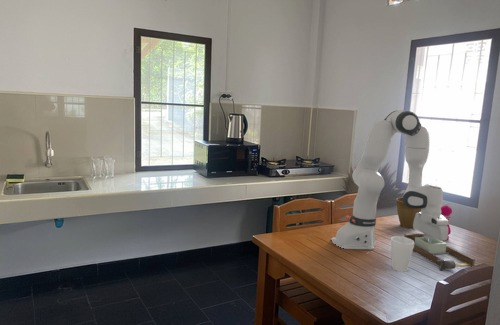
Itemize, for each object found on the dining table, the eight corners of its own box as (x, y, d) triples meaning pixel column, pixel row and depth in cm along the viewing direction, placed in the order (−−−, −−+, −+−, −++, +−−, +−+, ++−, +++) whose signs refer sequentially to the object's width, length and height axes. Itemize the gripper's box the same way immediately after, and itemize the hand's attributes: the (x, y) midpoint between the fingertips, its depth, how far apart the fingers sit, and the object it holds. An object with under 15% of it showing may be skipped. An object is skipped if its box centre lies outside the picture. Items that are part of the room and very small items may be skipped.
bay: (439, 272, 162) (440, 259, 161) (394, 245, 191) (396, 234, 190) (480, 268, 168) (482, 256, 167) (431, 243, 197) (432, 232, 196)
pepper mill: (446, 236, 210) (450, 202, 207) (451, 241, 202) (456, 205, 199) (432, 235, 210) (437, 201, 207) (437, 240, 203) (442, 204, 200)
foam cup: (392, 262, 170) (395, 234, 169) (413, 268, 165) (417, 240, 163) (385, 268, 163) (388, 240, 161) (406, 275, 157) (410, 245, 155)
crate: (428, 254, 181) (429, 244, 180) (414, 247, 190) (415, 237, 189) (445, 253, 183) (446, 243, 182) (430, 246, 193) (431, 236, 192)
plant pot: (422, 225, 228) (425, 200, 226) (418, 232, 216) (421, 205, 213) (396, 220, 236) (399, 196, 234) (391, 226, 223) (394, 200, 221)
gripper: (411, 211, 196) (408, 236, 198) (440, 223, 176) (437, 251, 178) (421, 210, 197) (418, 235, 199) (451, 222, 178) (448, 250, 180)
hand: (428, 243), depth 189 cm, fingers closed
